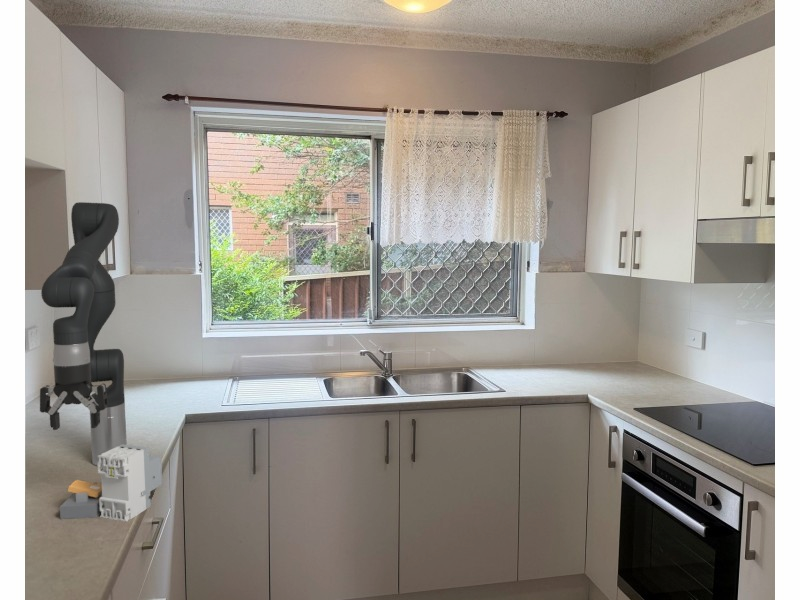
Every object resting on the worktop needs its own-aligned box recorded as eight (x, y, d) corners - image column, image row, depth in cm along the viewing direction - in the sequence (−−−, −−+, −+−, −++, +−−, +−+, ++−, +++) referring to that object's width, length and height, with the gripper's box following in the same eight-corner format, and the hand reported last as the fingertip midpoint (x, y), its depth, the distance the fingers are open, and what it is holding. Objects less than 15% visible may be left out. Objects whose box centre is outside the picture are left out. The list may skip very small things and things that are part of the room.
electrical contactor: (167, 495, 146) (165, 438, 145) (126, 521, 133) (123, 459, 131) (142, 491, 148) (140, 435, 147) (100, 517, 135) (97, 455, 133)
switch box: (79, 499, 143) (78, 480, 143) (112, 498, 144) (111, 479, 144) (60, 519, 134) (59, 498, 133) (96, 517, 135) (95, 496, 134)
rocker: (74, 486, 140) (76, 479, 140) (103, 492, 141) (104, 485, 141) (67, 493, 136) (69, 486, 136) (96, 499, 137) (98, 492, 137)
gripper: (109, 357, 140) (112, 422, 141) (46, 359, 138) (50, 424, 139) (98, 364, 132) (101, 432, 134) (31, 365, 130) (35, 434, 132)
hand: (75, 428), depth 137 cm, fingers open, 8 cm apart
